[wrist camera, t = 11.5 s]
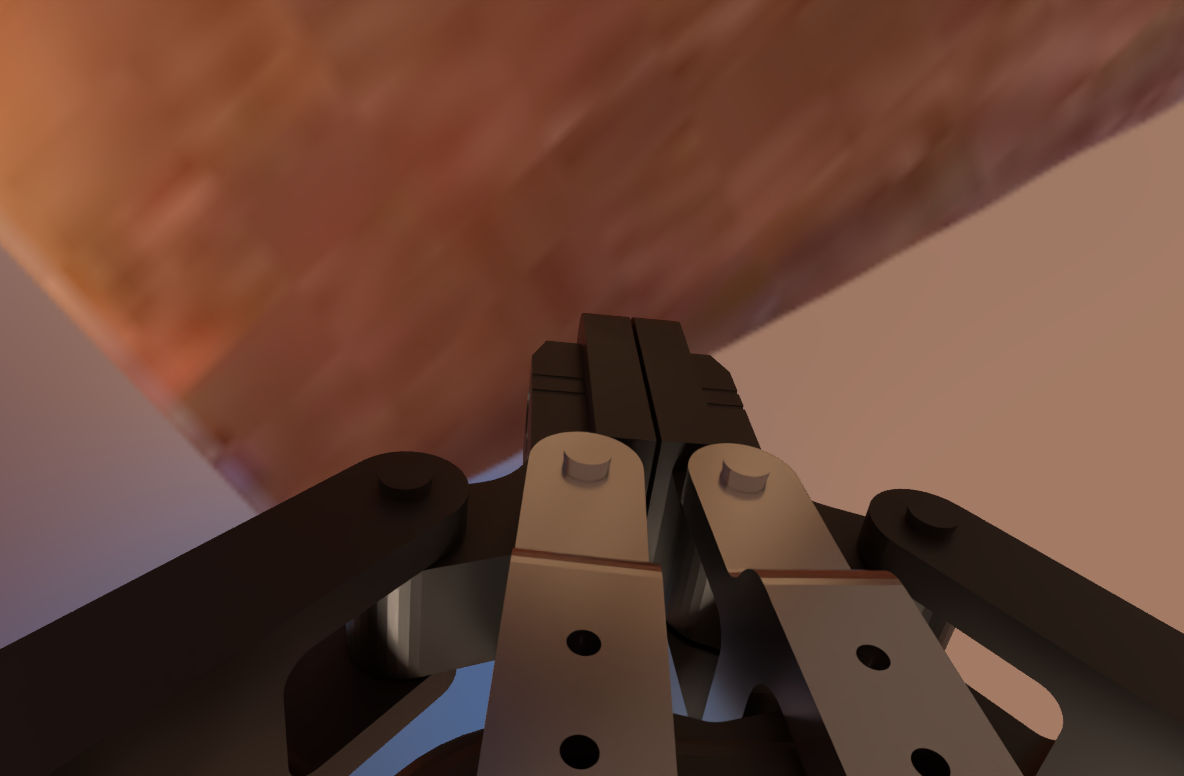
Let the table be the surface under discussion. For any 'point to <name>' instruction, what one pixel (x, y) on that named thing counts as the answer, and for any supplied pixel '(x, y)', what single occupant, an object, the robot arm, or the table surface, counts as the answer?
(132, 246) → the table surface
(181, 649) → the robot arm
